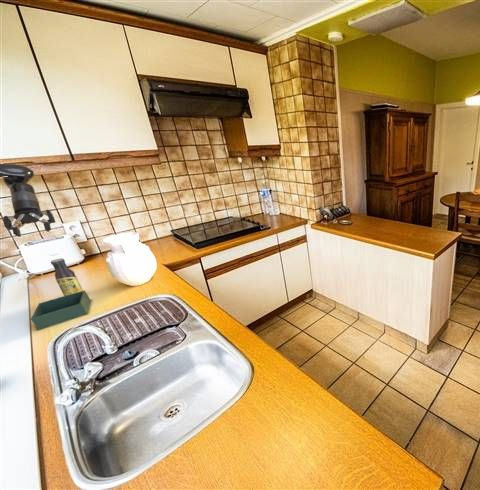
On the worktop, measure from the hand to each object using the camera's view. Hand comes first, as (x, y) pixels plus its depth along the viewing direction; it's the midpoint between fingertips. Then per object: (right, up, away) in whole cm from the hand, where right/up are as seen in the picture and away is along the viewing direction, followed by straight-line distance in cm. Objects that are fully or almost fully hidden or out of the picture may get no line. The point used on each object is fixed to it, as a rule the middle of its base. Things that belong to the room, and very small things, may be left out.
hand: (33, 233), depth 117 cm
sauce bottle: (+9, -31, +9) cm, 33 cm away
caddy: (+18, -35, -3) cm, 39 cm away
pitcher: (+30, -24, +21) cm, 44 cm away
